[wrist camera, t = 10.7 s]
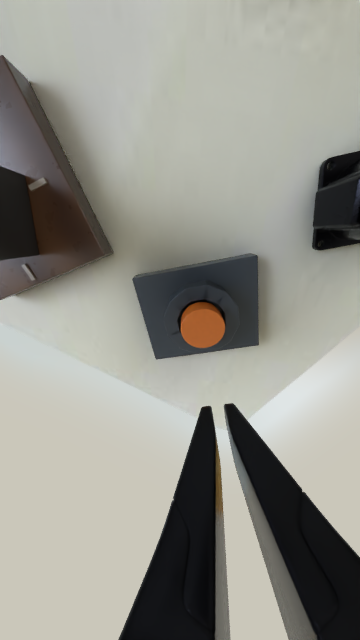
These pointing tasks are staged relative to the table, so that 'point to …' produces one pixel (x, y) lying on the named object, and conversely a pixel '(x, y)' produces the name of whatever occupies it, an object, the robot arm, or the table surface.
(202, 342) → the button
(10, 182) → the box
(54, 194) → the base
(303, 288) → the table surface
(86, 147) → the table surface
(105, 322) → the table surface
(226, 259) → the button housing
